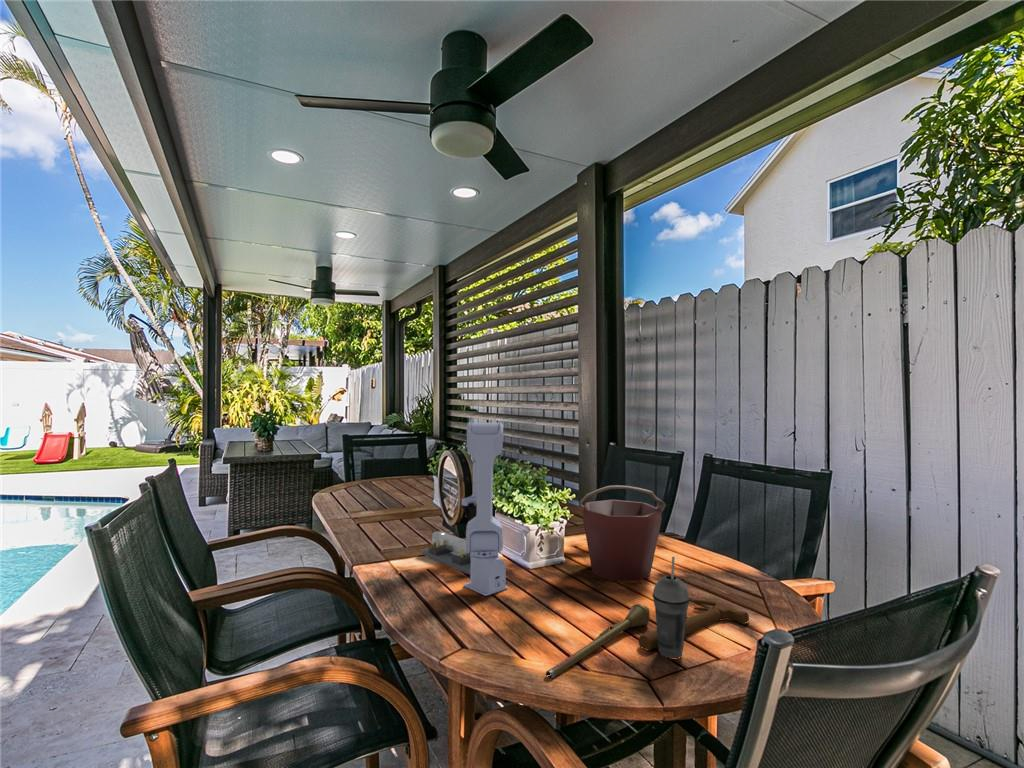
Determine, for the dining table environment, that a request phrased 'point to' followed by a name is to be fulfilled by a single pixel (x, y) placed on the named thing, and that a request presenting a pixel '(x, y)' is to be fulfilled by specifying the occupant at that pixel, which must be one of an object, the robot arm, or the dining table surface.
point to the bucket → (621, 535)
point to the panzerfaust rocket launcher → (605, 637)
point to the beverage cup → (671, 614)
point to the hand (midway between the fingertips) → (481, 525)
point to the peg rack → (449, 558)
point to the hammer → (699, 620)
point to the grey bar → (450, 542)
